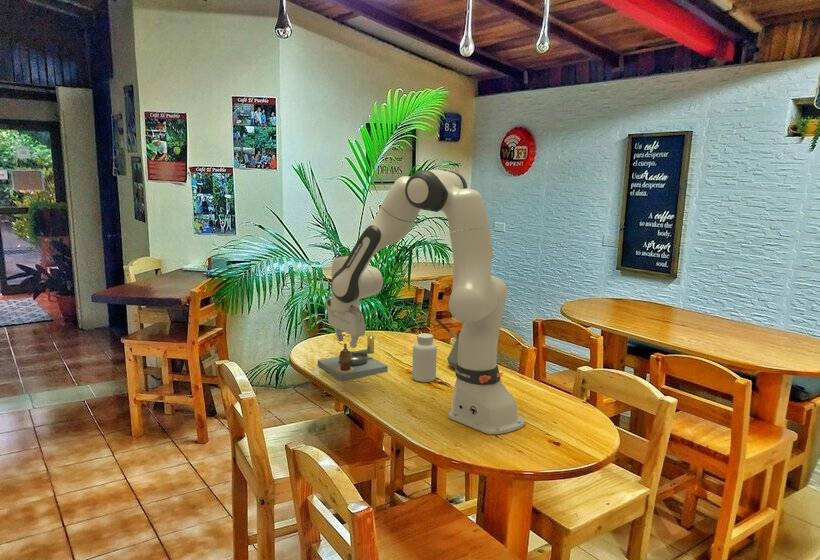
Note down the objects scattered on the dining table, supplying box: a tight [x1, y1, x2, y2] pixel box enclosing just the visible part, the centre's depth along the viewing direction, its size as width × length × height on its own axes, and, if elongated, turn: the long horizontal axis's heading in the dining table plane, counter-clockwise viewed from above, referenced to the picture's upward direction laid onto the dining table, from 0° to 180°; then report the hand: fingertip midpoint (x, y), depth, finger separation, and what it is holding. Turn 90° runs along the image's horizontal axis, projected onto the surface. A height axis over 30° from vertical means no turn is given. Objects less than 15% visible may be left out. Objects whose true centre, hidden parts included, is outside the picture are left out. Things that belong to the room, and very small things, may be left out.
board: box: [317, 355, 389, 382], centre depth 198 cm, size 18×18×2 cm
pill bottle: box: [411, 332, 438, 383], centre depth 189 cm, size 8×8×15 cm
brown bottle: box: [339, 343, 351, 371], centre depth 190 cm, size 3×3×9 cm
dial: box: [338, 335, 375, 366], centre depth 200 cm, size 10×13×8 cm
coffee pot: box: [432, 318, 462, 370], centre depth 204 cm, size 21×12×15 cm, turn 40°
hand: (346, 344), depth 189 cm, fingers open, 8 cm apart
